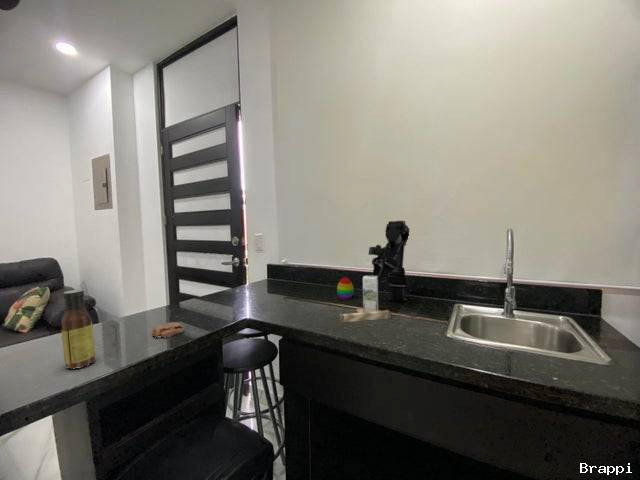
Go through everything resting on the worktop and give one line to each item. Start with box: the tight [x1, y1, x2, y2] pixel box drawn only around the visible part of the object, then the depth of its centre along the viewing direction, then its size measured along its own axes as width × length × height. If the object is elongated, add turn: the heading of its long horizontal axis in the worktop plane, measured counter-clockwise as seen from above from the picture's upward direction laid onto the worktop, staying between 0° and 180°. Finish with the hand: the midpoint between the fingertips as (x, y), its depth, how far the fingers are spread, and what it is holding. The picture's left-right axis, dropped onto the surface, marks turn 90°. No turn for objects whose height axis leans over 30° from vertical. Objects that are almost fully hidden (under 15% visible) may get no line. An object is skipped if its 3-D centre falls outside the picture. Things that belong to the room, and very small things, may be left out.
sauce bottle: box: [60, 289, 96, 368], centre depth 75 cm, size 7×6×20 cm
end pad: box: [356, 308, 381, 313], centre depth 117 cm, size 9×9×1 cm
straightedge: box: [338, 309, 391, 324], centre depth 110 cm, size 20×2×3 cm, turn 104°
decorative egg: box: [336, 277, 355, 300], centre depth 142 cm, size 8×8×10 cm
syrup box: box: [362, 275, 379, 312], centre depth 117 cm, size 6×6×14 cm
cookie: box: [151, 321, 185, 338], centre depth 98 cm, size 10×11×3 cm
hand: (375, 279), depth 122 cm, fingers open, 9 cm apart
